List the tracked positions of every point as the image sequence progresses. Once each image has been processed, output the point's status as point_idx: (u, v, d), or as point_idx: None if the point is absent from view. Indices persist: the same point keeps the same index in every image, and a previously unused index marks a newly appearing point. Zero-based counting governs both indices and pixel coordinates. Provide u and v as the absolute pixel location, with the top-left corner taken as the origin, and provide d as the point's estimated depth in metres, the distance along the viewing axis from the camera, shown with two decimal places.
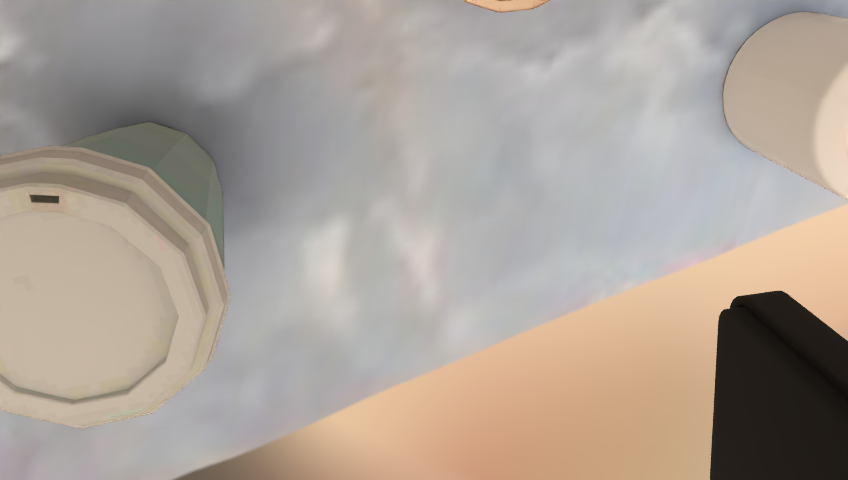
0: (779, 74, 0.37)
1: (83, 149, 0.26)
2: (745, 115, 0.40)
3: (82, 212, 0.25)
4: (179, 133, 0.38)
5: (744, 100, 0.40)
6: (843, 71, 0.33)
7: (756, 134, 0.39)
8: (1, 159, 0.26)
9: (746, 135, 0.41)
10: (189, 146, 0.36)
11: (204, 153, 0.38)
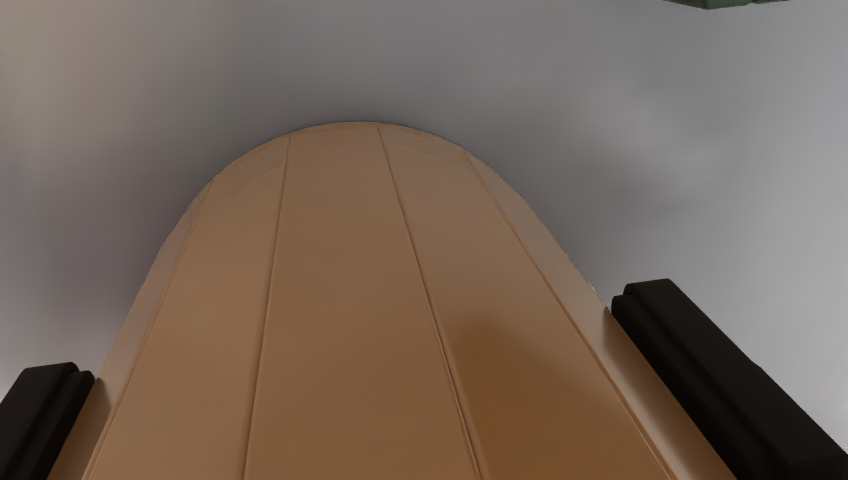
0: None
1: None
2: None
3: None
4: None
5: None
6: None
7: None
8: None
9: None
10: None
11: None
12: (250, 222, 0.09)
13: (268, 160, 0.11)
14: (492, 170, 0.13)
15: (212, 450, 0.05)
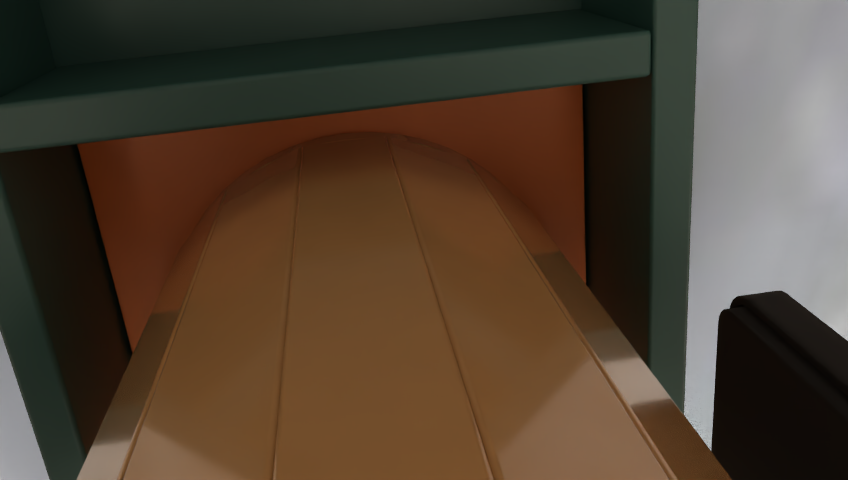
0: None
1: None
2: None
3: None
4: None
5: None
6: None
7: None
8: None
9: None
10: None
11: None
12: (267, 231, 0.09)
13: (281, 170, 0.11)
14: (496, 179, 0.13)
15: (242, 444, 0.05)
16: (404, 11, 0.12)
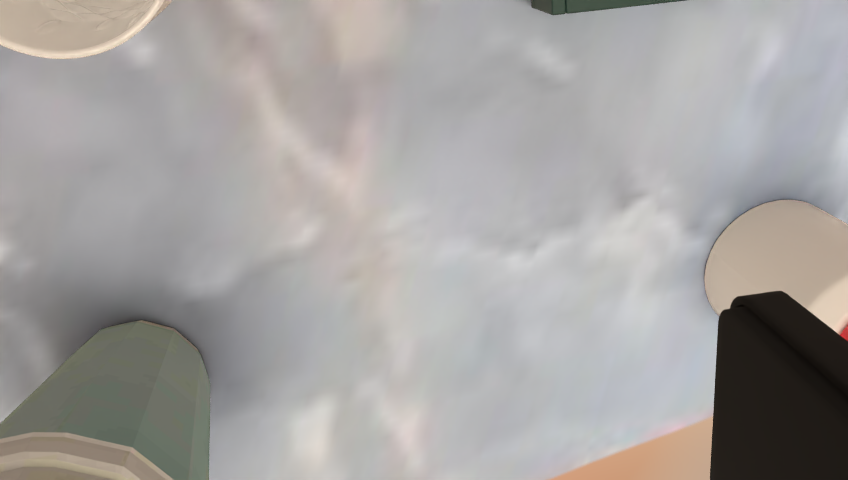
0: (757, 279, 0.38)
1: (67, 434, 0.27)
2: (725, 305, 0.40)
3: None
4: (166, 334, 0.38)
5: (724, 291, 0.40)
6: (818, 299, 0.34)
7: None
8: None
9: None
10: (176, 353, 0.37)
11: (191, 350, 0.39)
12: None
13: None
14: None
15: None
16: None
